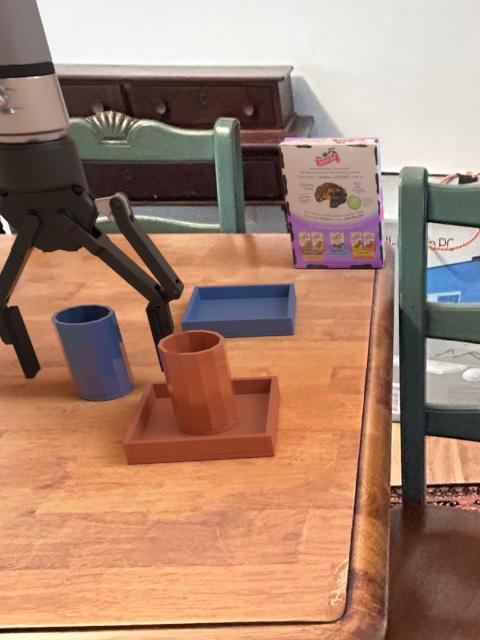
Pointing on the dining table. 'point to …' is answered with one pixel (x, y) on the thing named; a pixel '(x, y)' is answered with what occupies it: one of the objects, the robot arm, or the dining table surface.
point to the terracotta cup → (199, 381)
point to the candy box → (334, 201)
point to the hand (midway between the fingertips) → (101, 370)
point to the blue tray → (242, 310)
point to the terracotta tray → (176, 445)
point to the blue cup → (94, 351)
